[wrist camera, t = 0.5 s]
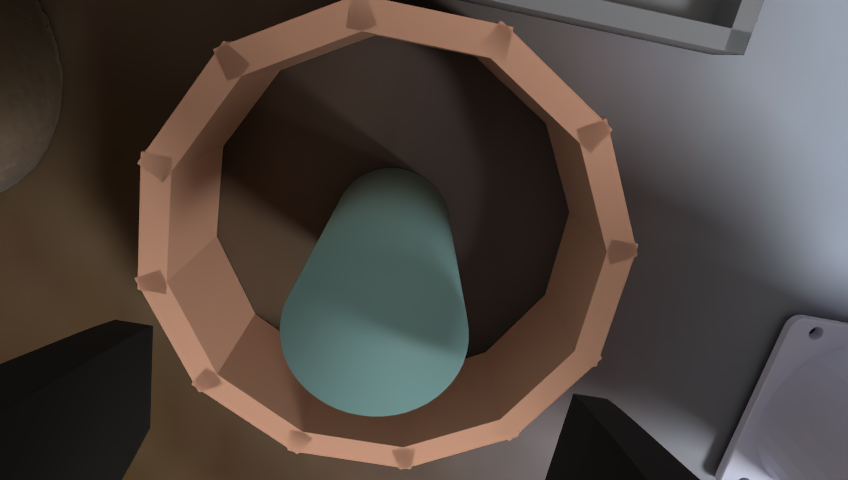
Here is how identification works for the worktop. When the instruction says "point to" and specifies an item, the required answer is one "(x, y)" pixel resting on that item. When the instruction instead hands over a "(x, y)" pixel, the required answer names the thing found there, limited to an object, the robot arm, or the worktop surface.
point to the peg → (379, 300)
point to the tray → (653, 19)
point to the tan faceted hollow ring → (260, 342)
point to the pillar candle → (26, 88)
